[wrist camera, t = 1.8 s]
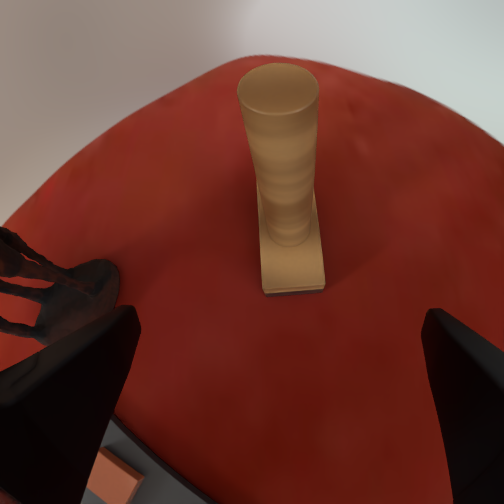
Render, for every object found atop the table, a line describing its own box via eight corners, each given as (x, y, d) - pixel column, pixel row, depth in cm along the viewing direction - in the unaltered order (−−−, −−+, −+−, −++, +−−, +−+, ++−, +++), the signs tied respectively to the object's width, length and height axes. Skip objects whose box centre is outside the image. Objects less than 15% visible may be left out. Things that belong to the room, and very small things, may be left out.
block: (145, 476, 18) (138, 480, 17) (127, 508, 18) (120, 513, 16) (103, 445, 20) (95, 448, 18) (88, 478, 19) (80, 482, 17)
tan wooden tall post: (322, 292, 22) (362, 178, 8) (265, 297, 23) (217, 191, 9) (310, 192, 25) (315, 26, 11) (260, 196, 26) (221, 34, 11)
